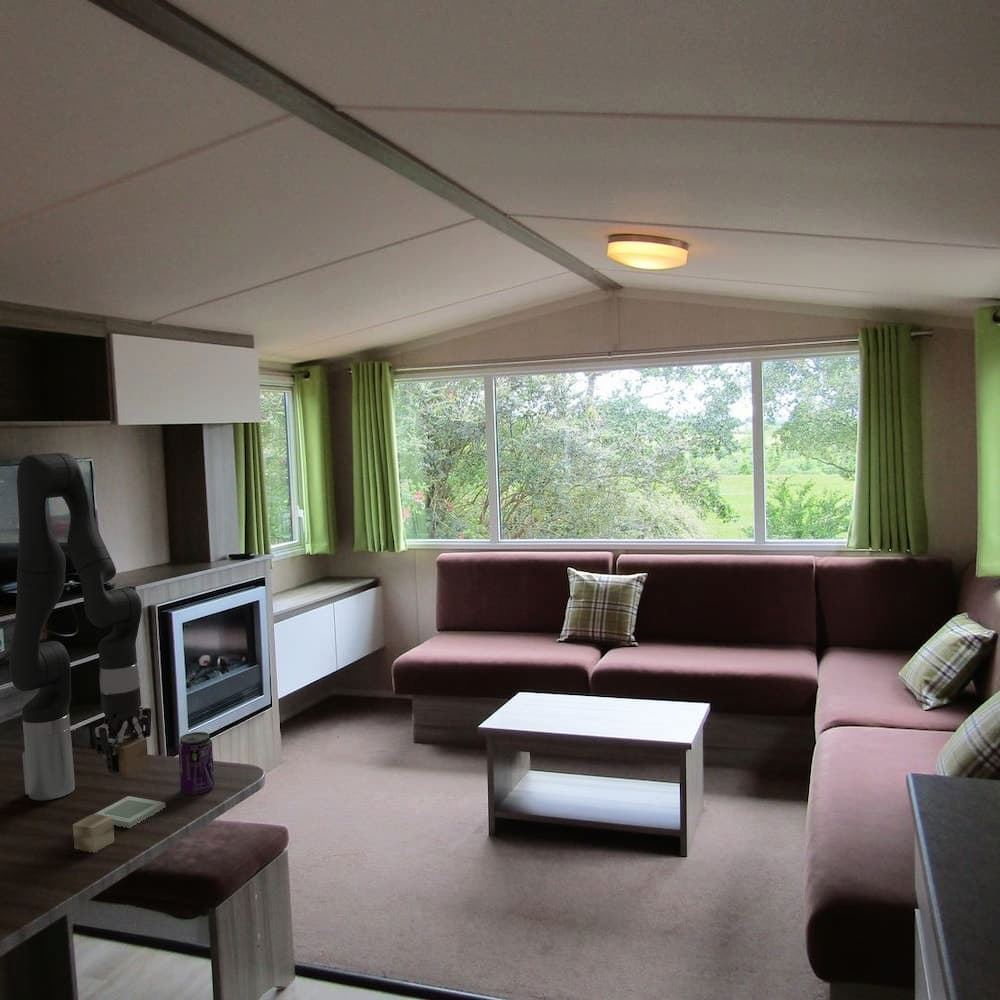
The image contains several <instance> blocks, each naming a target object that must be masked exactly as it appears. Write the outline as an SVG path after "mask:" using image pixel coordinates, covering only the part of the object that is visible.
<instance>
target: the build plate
mask: <svg viewBox="0 0 1000 1000" xmlns="http://www.w3.org/2000/svg"><path fill="white" fill-rule="evenodd" d="M163 808H165V809H166V801H165V802H163V801H158V800H152V799H147V798H140V797H135V796H130V795H127V796H126V797H123V798H122V799H120V800H118V801H116V802H115V803H112V804H110V805H109V806H107V807H105V808H103V809H101V810H99V811H97V812H95V813H94V814H98V815H103V816H109V817H113V826H115V825H116V826H117V827H121V826H123V827H122V828H126V827H127V829H131V828H133V827H135V826H136V825H138V824H139V823H142V822H144V821H146V820H147V819H149V818H150V816H151V817H152V816H154V815H156V814H157V812H158V813H160V812H161V811H163V810H164V809H163ZM162 809H163V810H162ZM160 810H161V811H160ZM155 813H156V814H155ZM148 817H149V818H148ZM146 818H147V819H146ZM143 820H144V821H143ZM141 821H142V822H141ZM137 823H138V824H137ZM134 825H135V826H134ZM132 826H133V827H132Z"/></svg>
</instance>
